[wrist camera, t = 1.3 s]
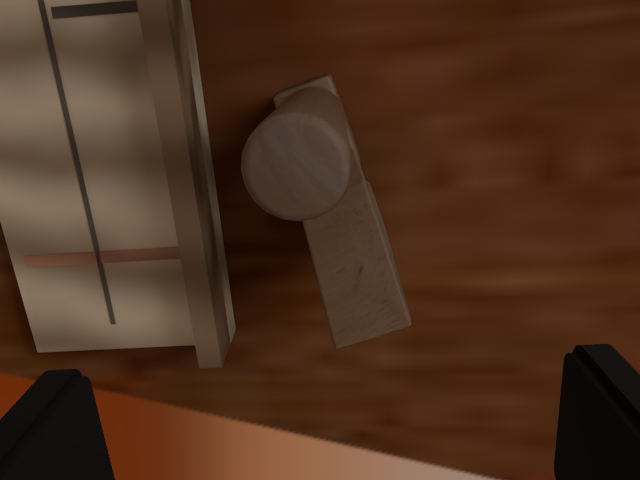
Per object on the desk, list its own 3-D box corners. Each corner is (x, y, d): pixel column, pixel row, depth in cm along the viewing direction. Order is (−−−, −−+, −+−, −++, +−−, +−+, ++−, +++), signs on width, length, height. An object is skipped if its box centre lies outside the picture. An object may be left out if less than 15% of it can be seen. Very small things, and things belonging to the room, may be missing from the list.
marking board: (-65, -89, 30) (-138, -115, 26) (174, -111, 30) (143, -142, 25) (51, 338, 40) (13, 376, 35) (235, 329, 39) (221, 367, 34)
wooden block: (335, 243, 36) (334, 407, 19) (277, 92, 33) (215, 131, 16) (385, 225, 36) (431, 379, 19) (331, 71, 33) (327, 88, 16)
